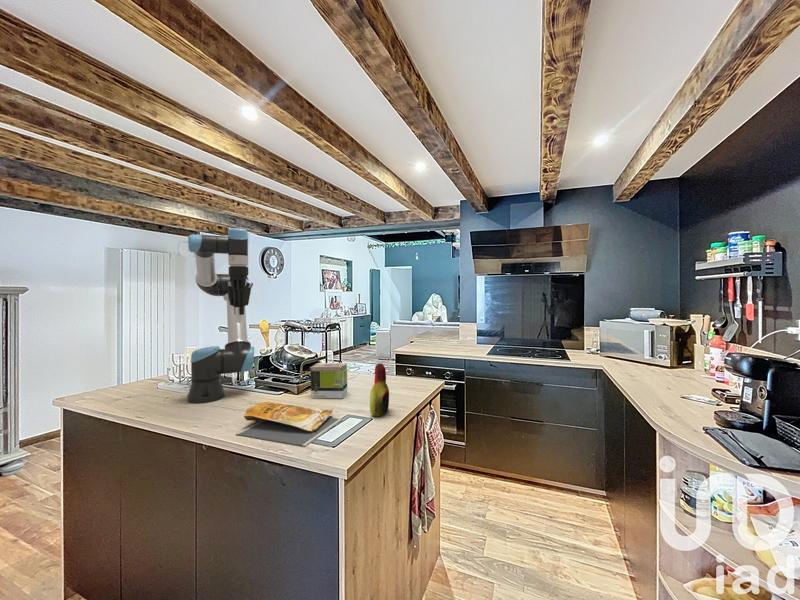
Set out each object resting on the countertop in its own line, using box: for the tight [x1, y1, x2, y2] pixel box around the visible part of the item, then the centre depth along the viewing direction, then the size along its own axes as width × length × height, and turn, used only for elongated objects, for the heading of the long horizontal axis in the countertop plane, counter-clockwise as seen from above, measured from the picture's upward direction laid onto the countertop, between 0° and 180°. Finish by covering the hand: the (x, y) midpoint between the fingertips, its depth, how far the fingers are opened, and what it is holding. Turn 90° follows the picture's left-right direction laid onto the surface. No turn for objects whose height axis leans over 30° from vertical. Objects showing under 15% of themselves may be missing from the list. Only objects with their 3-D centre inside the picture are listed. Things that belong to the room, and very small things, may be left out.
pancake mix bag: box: [243, 401, 334, 432], centre depth 131 cm, size 7×19×28 cm
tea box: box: [310, 362, 348, 399], centre depth 165 cm, size 15×10×15 cm, turn 84°
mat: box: [235, 416, 343, 448], centre depth 127 cm, size 28×24×1 cm
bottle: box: [369, 362, 390, 417], centre depth 141 cm, size 12×6×20 cm, turn 156°
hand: (239, 322), depth 146 cm, fingers closed
